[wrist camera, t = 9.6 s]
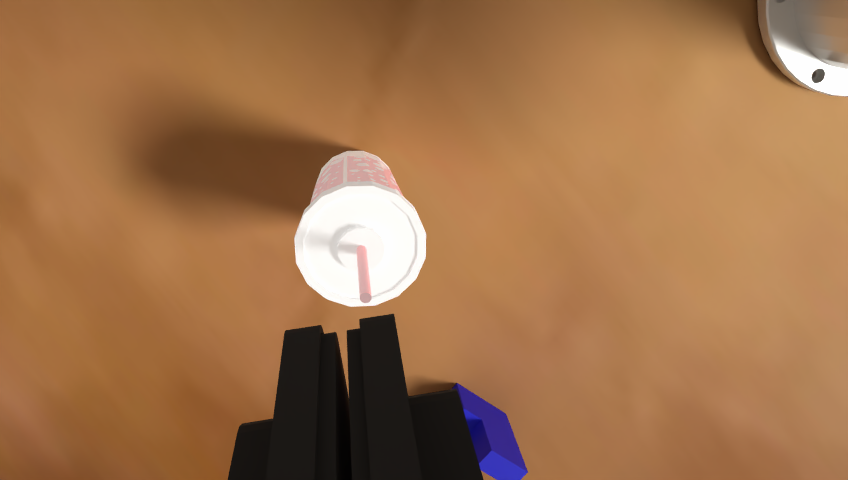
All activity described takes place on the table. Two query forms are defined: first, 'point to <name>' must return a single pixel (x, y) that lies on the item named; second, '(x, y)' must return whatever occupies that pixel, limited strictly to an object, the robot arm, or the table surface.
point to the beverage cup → (359, 233)
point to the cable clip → (492, 438)
